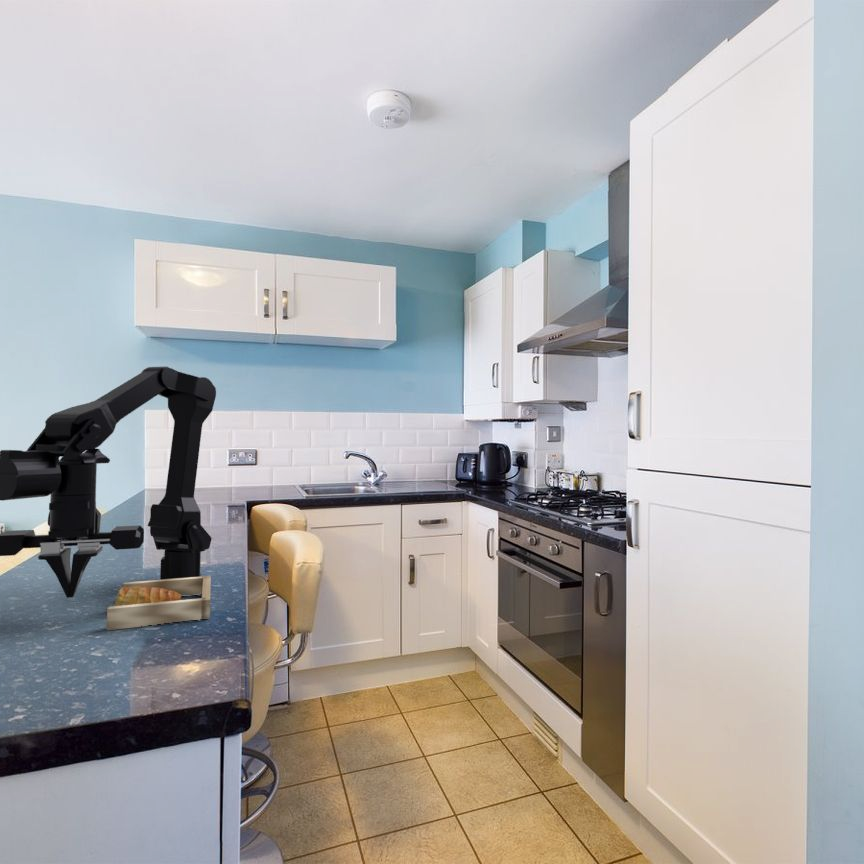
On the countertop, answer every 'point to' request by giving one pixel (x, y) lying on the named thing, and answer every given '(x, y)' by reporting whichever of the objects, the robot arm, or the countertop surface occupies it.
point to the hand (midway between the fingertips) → (70, 596)
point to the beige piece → (163, 604)
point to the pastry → (145, 595)
